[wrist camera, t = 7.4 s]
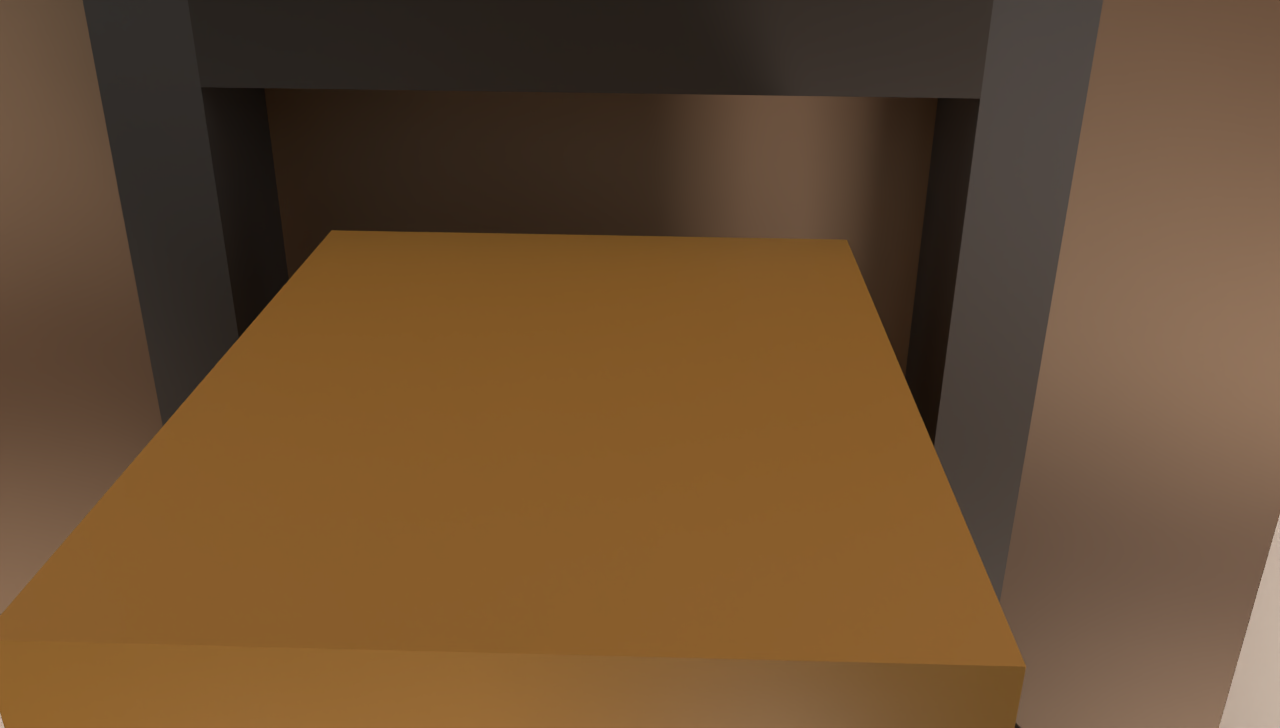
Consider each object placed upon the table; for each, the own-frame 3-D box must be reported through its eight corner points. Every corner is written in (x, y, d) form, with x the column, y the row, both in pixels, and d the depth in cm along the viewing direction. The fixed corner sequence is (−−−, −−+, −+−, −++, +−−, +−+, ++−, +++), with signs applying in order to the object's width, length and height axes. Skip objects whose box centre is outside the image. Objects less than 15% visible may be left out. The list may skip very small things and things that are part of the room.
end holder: (1138, 909, 15) (1200, 1056, 13) (85, 878, 15) (7, 1018, 14) (1471, -323, 9) (1666, -361, 7) (-242, -334, 10) (-457, -372, 8)
